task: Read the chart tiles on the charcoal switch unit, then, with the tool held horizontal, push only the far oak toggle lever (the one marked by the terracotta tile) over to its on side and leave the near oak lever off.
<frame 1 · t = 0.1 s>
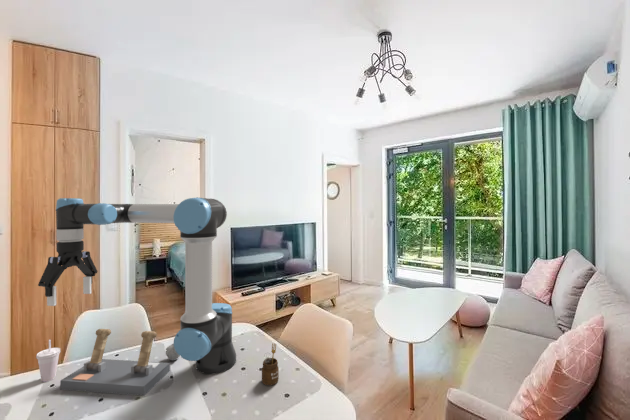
hand: (70, 299, 104), 28 cm above the table, tool pointing down, fingers open, 13 cm apart
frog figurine: (174, 359, 115), on the table
smoothie: (48, 379, 102), on the table
lever far: (99, 348, 104), point 10 cm above the table, hinge at -20.0°
utensil holder: (270, 381, 102), on the table
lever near: (145, 351, 103), point 10 cm above the table, hinge at -20.0°
switch unit: (118, 379, 102), on the table
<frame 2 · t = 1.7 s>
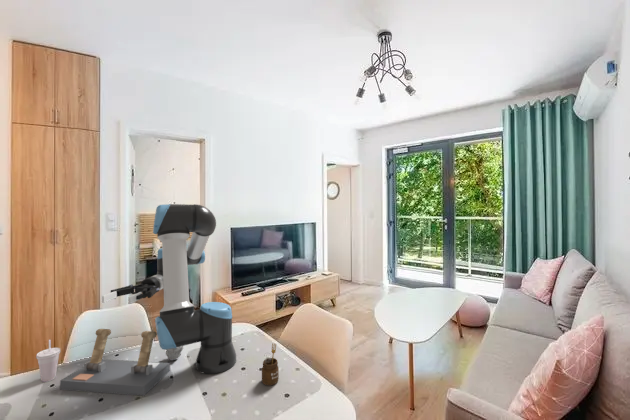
hand: (116, 299, 112), 25 cm above the table, tool horizontal, fingers open, 10 cm apart
nothing on the table moved.
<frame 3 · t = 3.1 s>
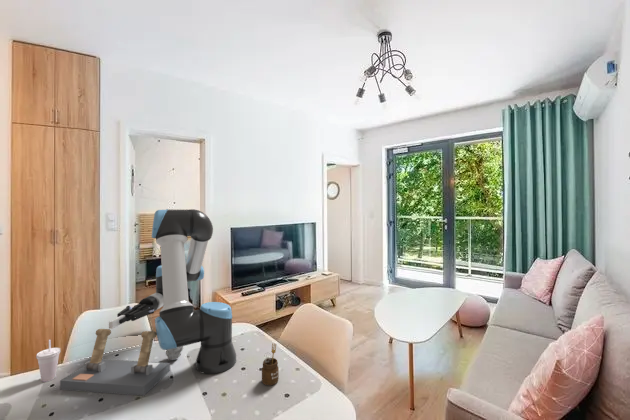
hand: (110, 325, 110), 16 cm above the table, tool horizontal, fingers closed
nothing on the table moved.
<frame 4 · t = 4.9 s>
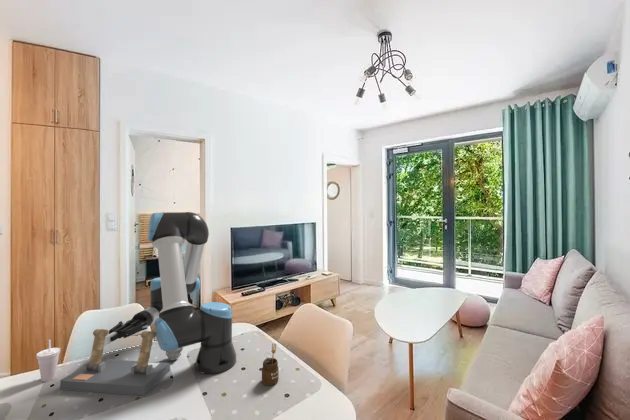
hand: (101, 343, 105), 11 cm above the table, tool horizontal, fingers closed
lever far: (97, 349, 104), point 10 cm above the table, hinge at -13.6°, touching gripper
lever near: (145, 351, 102), point 10 cm above the table, hinge at -18.5°
everything else where it was.
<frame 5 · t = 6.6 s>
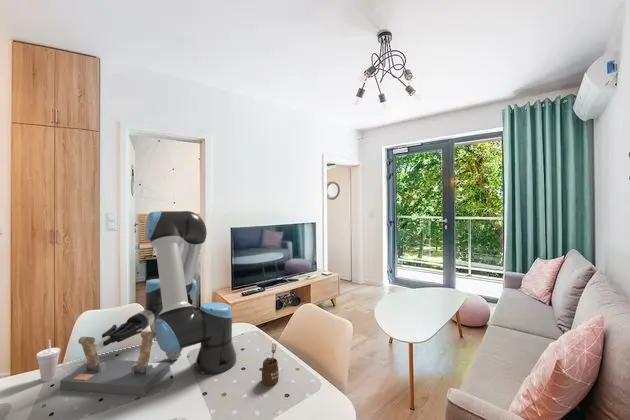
hand: (93, 347, 102), 11 cm above the table, tool horizontal, fingers closed
lever far: (90, 353, 101), point 10 cm above the table, hinge at 16.8°
everything else where it was.
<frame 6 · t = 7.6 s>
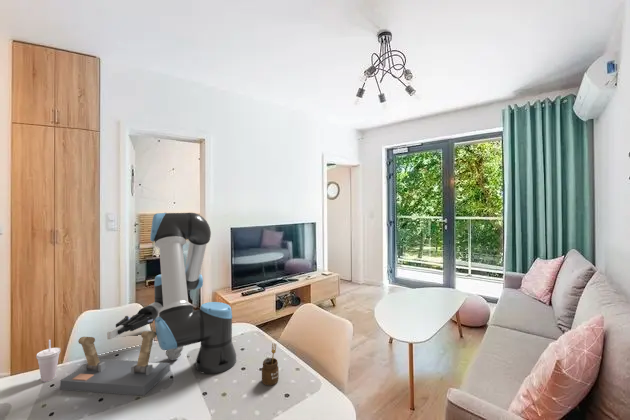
hand: (109, 335, 109), 12 cm above the table, tool horizontal, fingers closed
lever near: (145, 351, 103), point 10 cm above the table, hinge at -19.5°, touching arm
everything else where it was.
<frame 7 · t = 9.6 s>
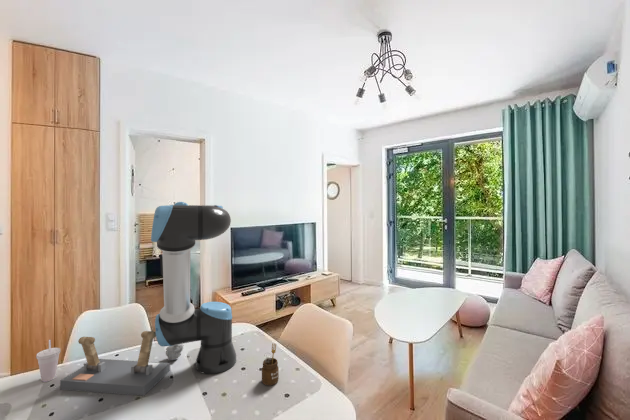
hand: (166, 292, 123), 24 cm above the table, tool tilted 25°, fingers closed
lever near: (145, 351, 103), point 10 cm above the table, hinge at -19.3°
everything else where it was.
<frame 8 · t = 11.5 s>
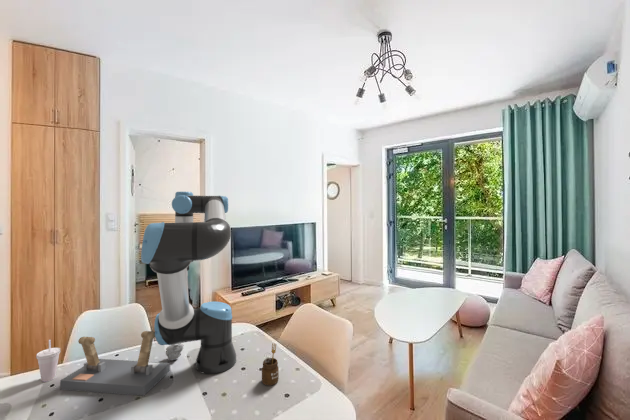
hand: (184, 277, 129), 29 cm above the table, tool pointing down, fingers closed
nothing on the table moved.
at the end: lever far at +17° (first picture: -20°); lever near at -19° (first picture: -20°) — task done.
